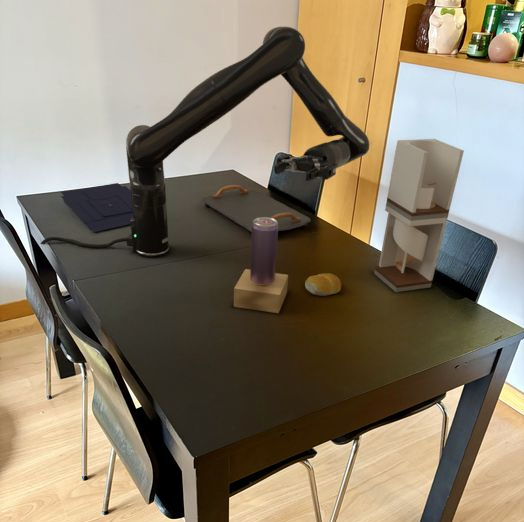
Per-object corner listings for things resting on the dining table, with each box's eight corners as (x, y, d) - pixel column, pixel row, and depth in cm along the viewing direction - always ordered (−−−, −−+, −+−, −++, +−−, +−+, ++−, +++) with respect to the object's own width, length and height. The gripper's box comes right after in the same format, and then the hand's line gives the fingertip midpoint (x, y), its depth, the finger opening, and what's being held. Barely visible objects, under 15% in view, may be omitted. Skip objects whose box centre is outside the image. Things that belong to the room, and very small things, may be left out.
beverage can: (272, 288, 129) (275, 227, 121) (247, 284, 130) (249, 224, 121) (276, 277, 134) (280, 218, 125) (252, 274, 135) (255, 215, 126)
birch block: (233, 306, 131) (233, 288, 128) (244, 286, 140) (245, 268, 137) (278, 313, 129) (279, 294, 126) (286, 292, 138) (288, 274, 135)
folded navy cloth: (123, 189, 195) (122, 179, 193) (164, 225, 178) (164, 215, 176) (55, 200, 182) (54, 190, 180) (93, 240, 165) (92, 229, 163)
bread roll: (346, 291, 140) (348, 277, 138) (319, 299, 136) (320, 285, 133) (326, 278, 146) (328, 265, 143) (299, 286, 141) (300, 272, 139)
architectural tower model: (373, 273, 150) (397, 140, 130) (407, 269, 153) (434, 138, 134) (395, 292, 141) (424, 152, 122) (430, 287, 144) (463, 150, 125)
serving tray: (196, 204, 189) (195, 186, 186) (252, 195, 201) (252, 178, 197) (257, 243, 163) (258, 223, 160) (317, 230, 174) (319, 211, 171)
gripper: (300, 139, 141) (266, 151, 129) (350, 149, 135) (319, 162, 123) (297, 168, 145) (265, 182, 133) (346, 179, 139) (316, 195, 127)
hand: (291, 172), depth 128 cm, fingers open, 8 cm apart
